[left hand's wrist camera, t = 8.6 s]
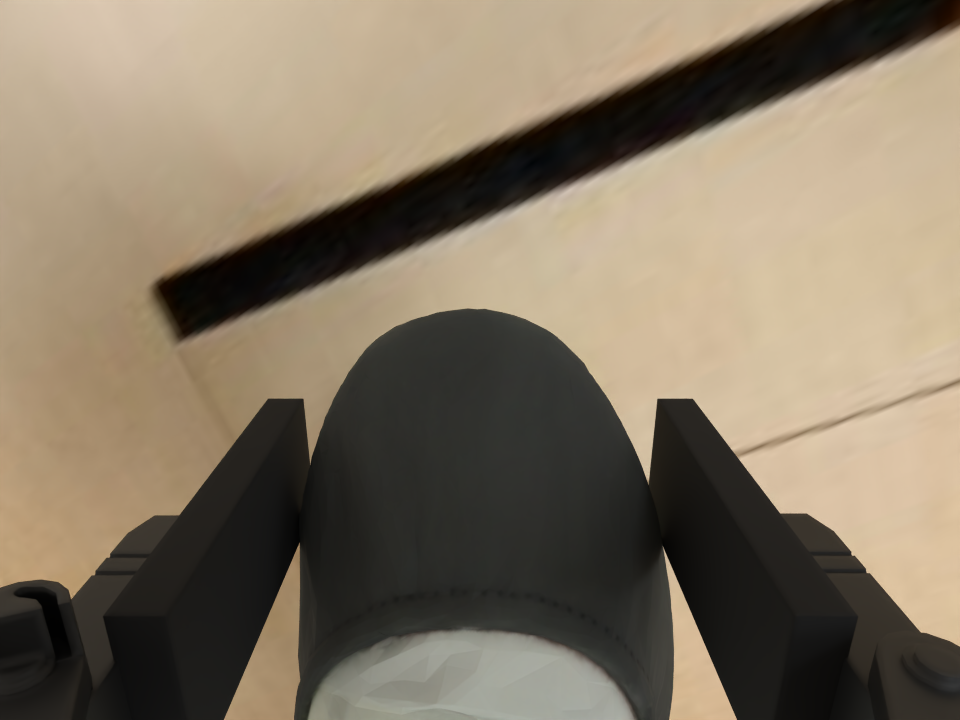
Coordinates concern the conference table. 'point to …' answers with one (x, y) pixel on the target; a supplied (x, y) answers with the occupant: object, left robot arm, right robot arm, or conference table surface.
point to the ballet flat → (479, 538)
